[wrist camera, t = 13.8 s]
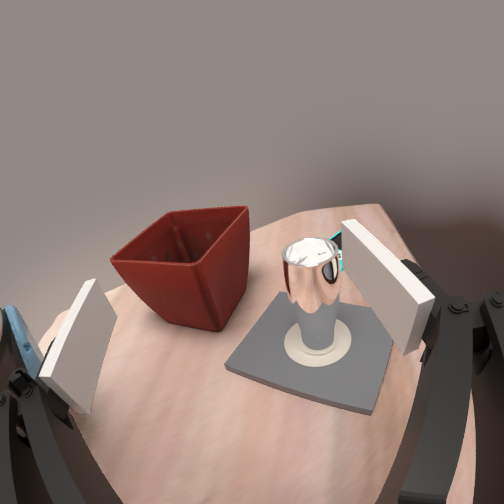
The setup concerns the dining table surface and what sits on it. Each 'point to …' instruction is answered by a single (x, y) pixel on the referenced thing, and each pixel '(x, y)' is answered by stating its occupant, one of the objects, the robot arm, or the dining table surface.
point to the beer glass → (314, 291)
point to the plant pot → (190, 265)
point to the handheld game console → (338, 241)
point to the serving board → (317, 357)
